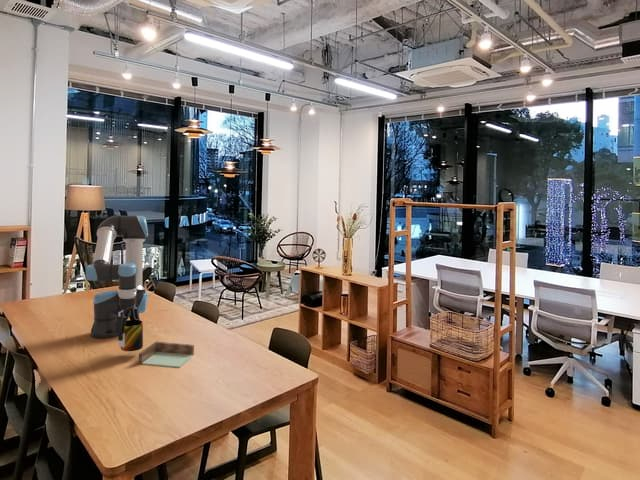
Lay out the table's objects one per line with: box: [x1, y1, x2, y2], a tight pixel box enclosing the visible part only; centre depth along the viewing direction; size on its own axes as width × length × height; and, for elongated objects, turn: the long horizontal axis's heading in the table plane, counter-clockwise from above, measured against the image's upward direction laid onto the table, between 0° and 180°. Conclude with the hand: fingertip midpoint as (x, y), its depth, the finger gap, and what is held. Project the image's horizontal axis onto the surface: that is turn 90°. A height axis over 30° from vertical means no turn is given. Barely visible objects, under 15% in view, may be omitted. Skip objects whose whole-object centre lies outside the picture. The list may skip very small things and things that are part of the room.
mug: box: [120, 319, 144, 352], centre depth 200 cm, size 10×14×12 cm
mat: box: [141, 352, 194, 369], centre depth 199 cm, size 18×14×1 cm
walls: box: [138, 341, 195, 365], centre depth 199 cm, size 20×16×5 cm
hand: (128, 342), depth 201 cm, fingers closed on mug, 10 cm apart
